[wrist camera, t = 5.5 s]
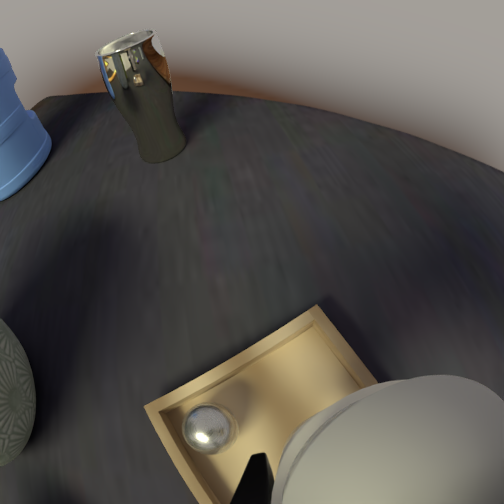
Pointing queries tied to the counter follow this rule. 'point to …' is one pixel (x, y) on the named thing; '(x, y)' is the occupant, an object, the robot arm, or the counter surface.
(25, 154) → the water jug
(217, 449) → the ball
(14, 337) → the planter
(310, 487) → the ball
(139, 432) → the counter surface
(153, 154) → the beer glass
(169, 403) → the tray
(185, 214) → the counter surface
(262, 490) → the robot arm
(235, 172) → the counter surface
